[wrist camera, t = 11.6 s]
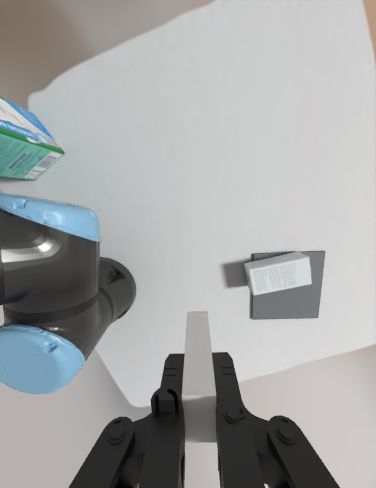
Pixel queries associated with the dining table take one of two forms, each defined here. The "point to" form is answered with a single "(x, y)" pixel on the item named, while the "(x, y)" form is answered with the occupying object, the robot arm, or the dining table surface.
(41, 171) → the milk carton
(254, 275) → the skincare box
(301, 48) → the dining table surface
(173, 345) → the dining table surface
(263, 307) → the mat
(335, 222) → the dining table surface
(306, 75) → the dining table surface
